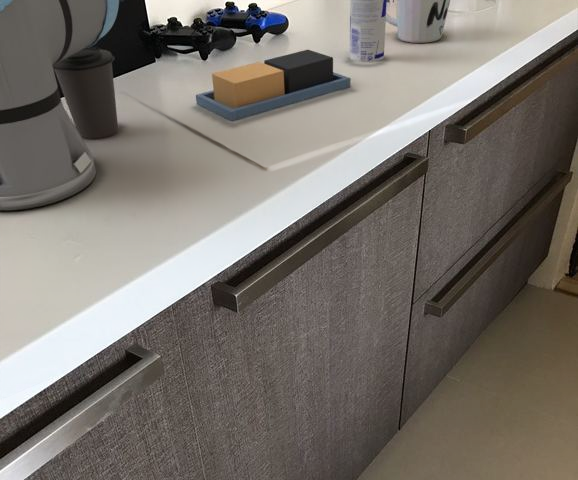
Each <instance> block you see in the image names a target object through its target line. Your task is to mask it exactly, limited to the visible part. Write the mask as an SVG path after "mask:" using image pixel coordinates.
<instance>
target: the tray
mask: <svg viewBox="0 0 578 480" xmlns="http://www.w3.org/2000/svg"><path fill="white" fill-rule="evenodd" d="M351 80H352V79H351V77H349V76H346V75H342V74H340V73H336V72H334V71H333V81H331V82H328V83H324V84H321V85H317V86H314V87H310V88H307V89H303V90H299V91H296V92H292V93H289V94H285V95H282V96H278V97H275V98H271V99H268V100H264V101H261V102H257V103H253V104H250V105H246V106H243V107H239V108H236V109H232V108H230V107H227V106H225V105H223V104H221V103H219V102H217V101H215V98H214V90H209V91H205V92H202V93H197V94H195V101H196V105H198V106H200V107H202V108H204V109H206V110H208V111H210V112H212V113H215V114H216V115H218V116H221V117H222V118H224V119H227V120H228V121H230V122H236V121H239V120H243V119H247V118H249V117H253V116H257V115H259V114H263V113H266V112H269V111H273V110H276V109H280V108H284V107H287V106H290V105H294V104H297V103H301V102H304V101H307V100H312V99H314V98H317V97H321V96H324V95H328V94H331V93H335V92H338V91H342V90H345V89H348V88H351V85H352V84H351Z"/></svg>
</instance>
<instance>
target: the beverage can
mask: <svg viewBox="0 0 578 480" xmlns="http://www.w3.org/2000/svg"><path fill="white" fill-rule="evenodd" d="M387 1H388V0H350V7H349V9H350V10H349V60H351V61H353V62H358V63H375V62H380V61H382V60H383V59H384V58H385V47H386V46H385V44H386V41H385V40H386V23H387V21H386V13H387Z"/></svg>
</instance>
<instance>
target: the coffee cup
mask: <svg viewBox="0 0 578 480" xmlns="http://www.w3.org/2000/svg"><path fill="white" fill-rule="evenodd" d="M114 61H115V56H114V55H113V54H112V52H111V51H110V50H107V49H101V48H99V47H97V46H91V47H89V48H87V49H82V50H80V51H78V52H76V53H74V54H73V55H71V56H69V57H67V58H65V59H63V60H62V61H60V62H58V63H56V64H54V65H52V66H53V70H54V74H55V76H56V79H57V82H58V84H59V86H60V89H61V91H62V94H63V97H64V100H65V102H66V105H67V107H68V110H69V113H70V117H71V120H72V122H73V124H74V126H75V127H76V129H77V131H78V132H79V134H80V136H81V137H82V139H88V140H89V139H90V140H95V139H104V138H107V137H111V136H113V135H114V134H117V133H118V131H119V125H118V124H119V121H118V112H117V103H116V93H115V83H114V73H113V62H114Z"/></svg>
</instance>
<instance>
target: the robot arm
mask: <svg viewBox="0 0 578 480" xmlns="http://www.w3.org/2000/svg"><path fill="white" fill-rule="evenodd" d="M119 5H120V0H0V211H18V210H27V209H33V208H39V207H43V206H47V205H51V204H54V203H57V202H59V201H62V200H64V199H67V198H70V197H72V196H74V195H76V194H77V193H79V192H80V191H83V190H84V189H85V188H87V186H89V185H90V184H91V183H92V181H93V180H94V178H95V177H96V173H97V170H96V165H95V162H94V157H93V155H92V153H91V151H90V149H89V147H88V145H87V144H86V142H85V140H84V138H82V137H81V136H80V134H79V132H78V131H77V129H76V127H75V124H74V121H73V120H72V118H71V116H70V115H69V114H68V113H67V111H66V109H65V107H64V105H63V101H62V97H61V94H60V90H59V86H58V83H57V82H58V81H57V77H56V73H55V70H54V69H53V66H52V65H54V64H56V63H58V62H60V61H62V60H63V59H65V58H67V57H69V56H71V55H73V54H74V53H76V52H78V51H80V50H82V49H87V48H92V47H94V46H95V45H96V44H97V43H98V42H99V41H100V40H101V39H102V38H103V37H105V36H106V35H107V34H108V33H109V32H110V30H111V29H112V27H113V26H114V23H115V21H116V20H117V16H118V12H119V7H120V6H119Z"/></svg>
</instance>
